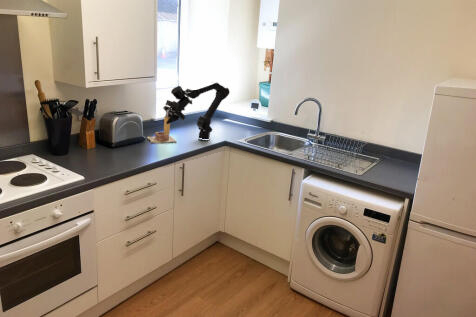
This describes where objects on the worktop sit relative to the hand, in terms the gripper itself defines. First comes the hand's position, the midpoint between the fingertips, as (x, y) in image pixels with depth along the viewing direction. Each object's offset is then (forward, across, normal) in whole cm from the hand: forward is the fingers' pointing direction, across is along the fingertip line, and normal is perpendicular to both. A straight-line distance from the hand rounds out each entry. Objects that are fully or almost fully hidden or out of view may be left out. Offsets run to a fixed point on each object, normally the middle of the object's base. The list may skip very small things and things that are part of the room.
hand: (165, 122), depth 248 cm
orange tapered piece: (+4, 0, +6) cm, 7 cm away
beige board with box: (+8, -7, +11) cm, 15 cm away
